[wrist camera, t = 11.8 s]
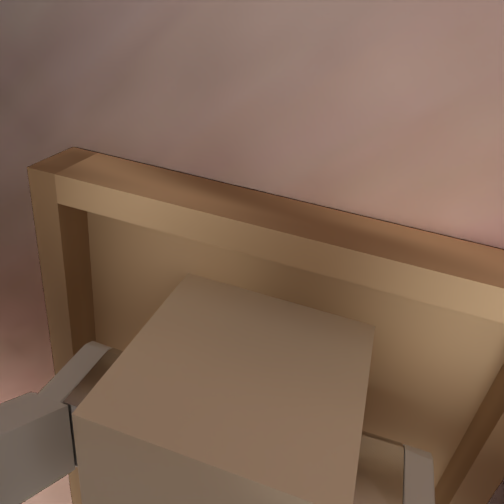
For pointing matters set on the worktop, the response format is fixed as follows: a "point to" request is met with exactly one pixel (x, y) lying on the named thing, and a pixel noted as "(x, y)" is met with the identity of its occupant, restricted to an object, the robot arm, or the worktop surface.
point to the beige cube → (228, 404)
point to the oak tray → (286, 293)
